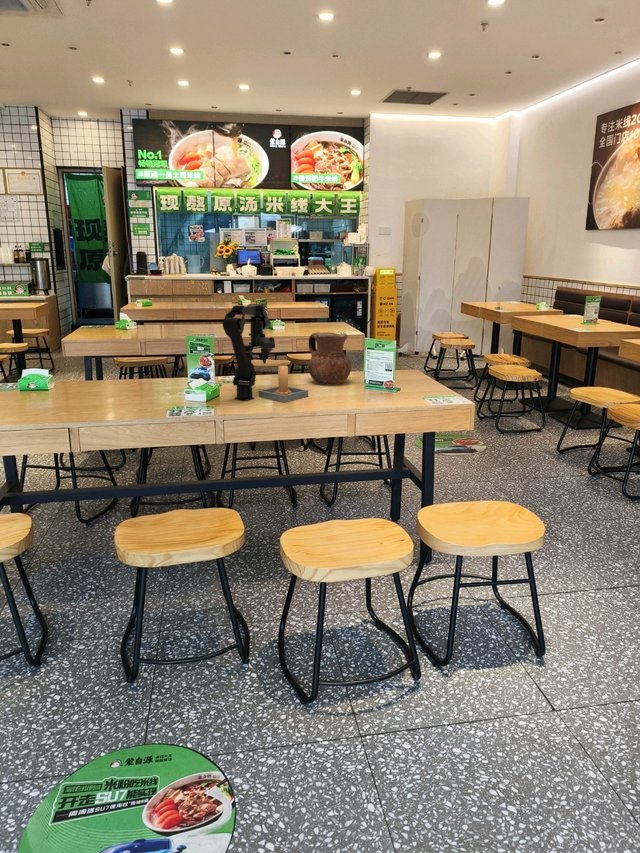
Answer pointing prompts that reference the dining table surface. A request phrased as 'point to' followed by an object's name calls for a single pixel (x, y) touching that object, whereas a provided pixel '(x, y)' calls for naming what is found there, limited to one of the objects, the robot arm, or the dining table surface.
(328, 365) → the jug
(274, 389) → the grey square tray
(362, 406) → the dining table surface
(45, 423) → the dining table surface
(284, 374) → the peach joystick knob
